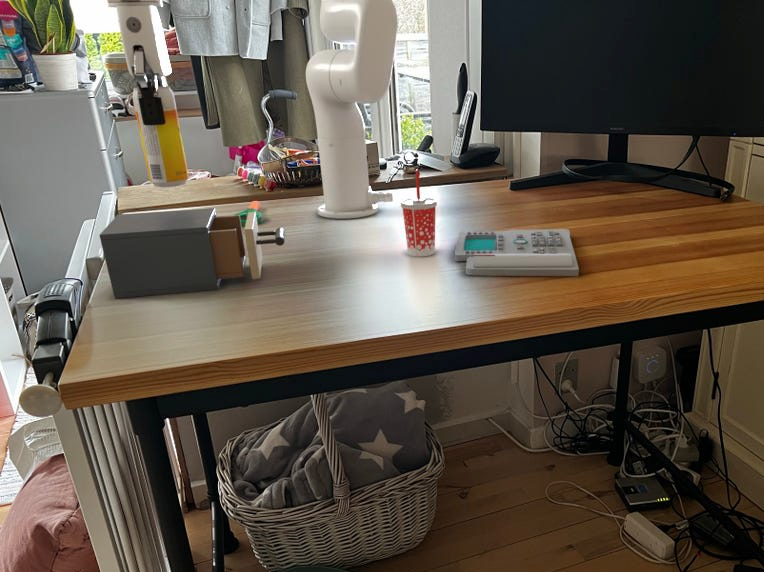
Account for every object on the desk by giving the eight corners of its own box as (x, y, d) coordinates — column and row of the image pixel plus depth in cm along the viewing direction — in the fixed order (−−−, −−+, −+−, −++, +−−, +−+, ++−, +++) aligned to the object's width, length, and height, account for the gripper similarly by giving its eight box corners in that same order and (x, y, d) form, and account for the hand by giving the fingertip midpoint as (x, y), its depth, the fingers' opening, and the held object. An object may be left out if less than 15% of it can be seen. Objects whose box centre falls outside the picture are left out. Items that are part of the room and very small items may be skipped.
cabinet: (224, 265, 121) (215, 207, 117) (218, 289, 110) (207, 226, 106) (130, 273, 118) (117, 214, 114) (114, 298, 107) (99, 234, 103)
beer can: (196, 180, 123) (179, 85, 116) (179, 188, 117) (160, 89, 111) (161, 180, 123) (143, 86, 117) (143, 187, 118) (122, 89, 111)
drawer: (288, 255, 122) (282, 209, 119) (288, 276, 112) (281, 226, 109) (177, 264, 119) (167, 217, 115) (166, 287, 109) (155, 235, 105)
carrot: (259, 225, 145) (258, 217, 144) (228, 226, 144) (227, 218, 143) (270, 208, 158) (269, 200, 158) (242, 209, 158) (241, 201, 157)
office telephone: (580, 261, 111) (450, 261, 112) (580, 277, 113) (451, 278, 113) (568, 221, 132) (459, 222, 133) (568, 235, 134) (459, 236, 134)
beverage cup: (444, 249, 127) (441, 167, 121) (431, 259, 122) (426, 174, 116) (412, 246, 129) (407, 166, 123) (397, 256, 124) (392, 172, 118)
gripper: (151, -7, 102) (176, 127, 109) (169, -2, 117) (189, 115, 124) (93, -6, 100) (122, 130, 108) (118, -2, 115) (142, 117, 123)
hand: (158, 121), depth 116 cm, fingers closed on beer can, 6 cm apart
